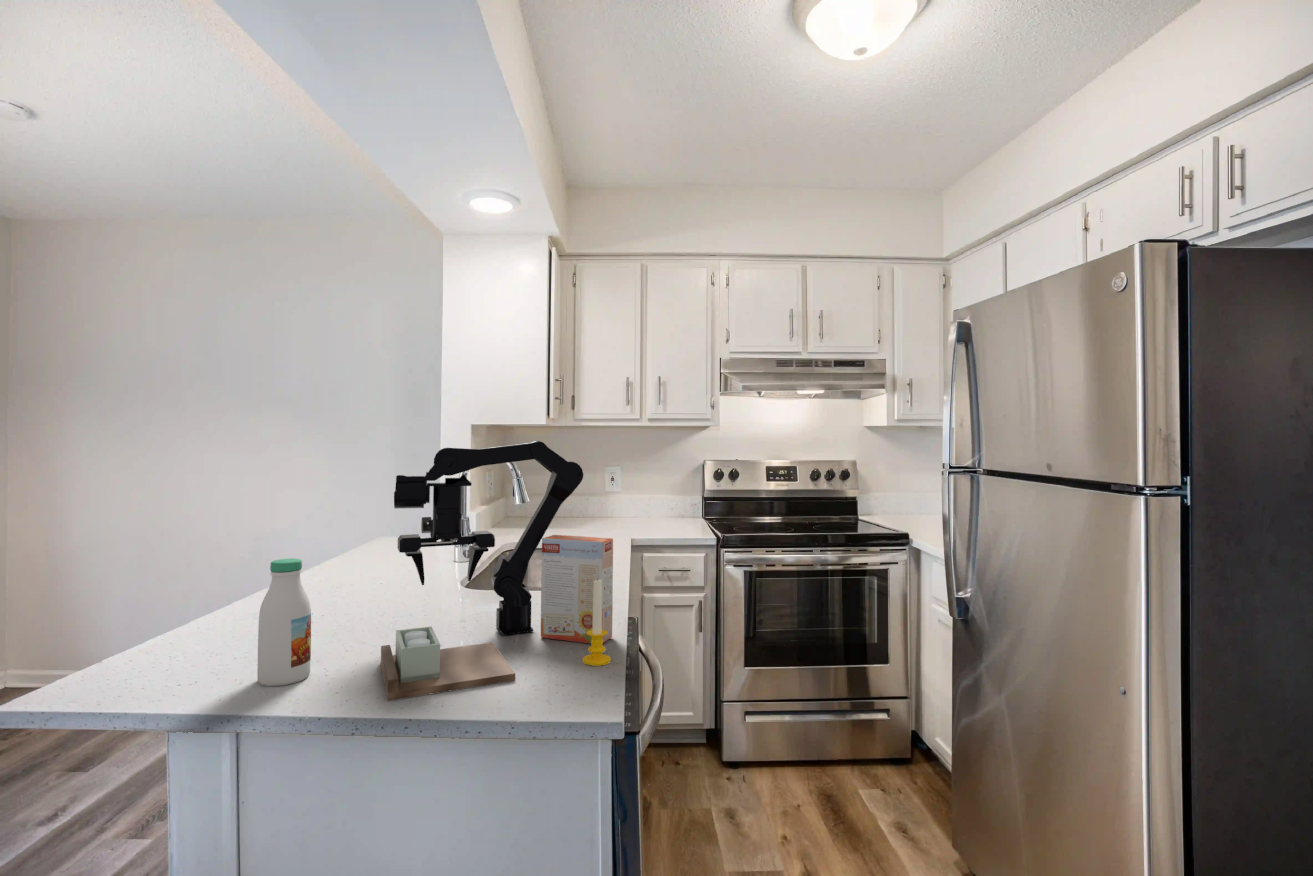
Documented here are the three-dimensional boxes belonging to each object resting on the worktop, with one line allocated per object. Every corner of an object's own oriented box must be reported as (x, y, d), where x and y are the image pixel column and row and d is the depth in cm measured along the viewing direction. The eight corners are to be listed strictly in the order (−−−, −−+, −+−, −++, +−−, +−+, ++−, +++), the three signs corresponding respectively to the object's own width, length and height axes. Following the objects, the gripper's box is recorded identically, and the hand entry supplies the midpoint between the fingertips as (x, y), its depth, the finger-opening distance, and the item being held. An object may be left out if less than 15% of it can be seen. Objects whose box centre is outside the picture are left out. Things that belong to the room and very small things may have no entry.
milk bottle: (272, 691, 100) (274, 566, 101) (248, 681, 104) (250, 561, 105) (319, 676, 107) (321, 559, 107) (295, 667, 111) (297, 554, 111)
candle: (584, 667, 113) (586, 581, 113) (580, 657, 118) (581, 575, 118) (613, 665, 115) (614, 579, 115) (607, 655, 120) (608, 573, 120)
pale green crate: (430, 656, 114) (431, 626, 114) (439, 677, 104) (440, 644, 104) (395, 661, 111) (395, 630, 111) (400, 683, 101) (401, 649, 101)
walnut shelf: (492, 648, 122) (492, 632, 122) (515, 680, 106) (515, 661, 106) (380, 663, 113) (381, 646, 113) (387, 700, 97) (387, 680, 97)
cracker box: (613, 637, 130) (614, 537, 131) (601, 646, 125) (602, 541, 125) (553, 630, 135) (555, 533, 135) (539, 638, 129) (541, 537, 130)
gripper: (485, 502, 142) (483, 571, 141) (396, 505, 133) (394, 578, 133) (496, 507, 132) (494, 582, 131) (400, 510, 123) (399, 590, 123)
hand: (446, 582), depth 130 cm, fingers open, 9 cm apart
